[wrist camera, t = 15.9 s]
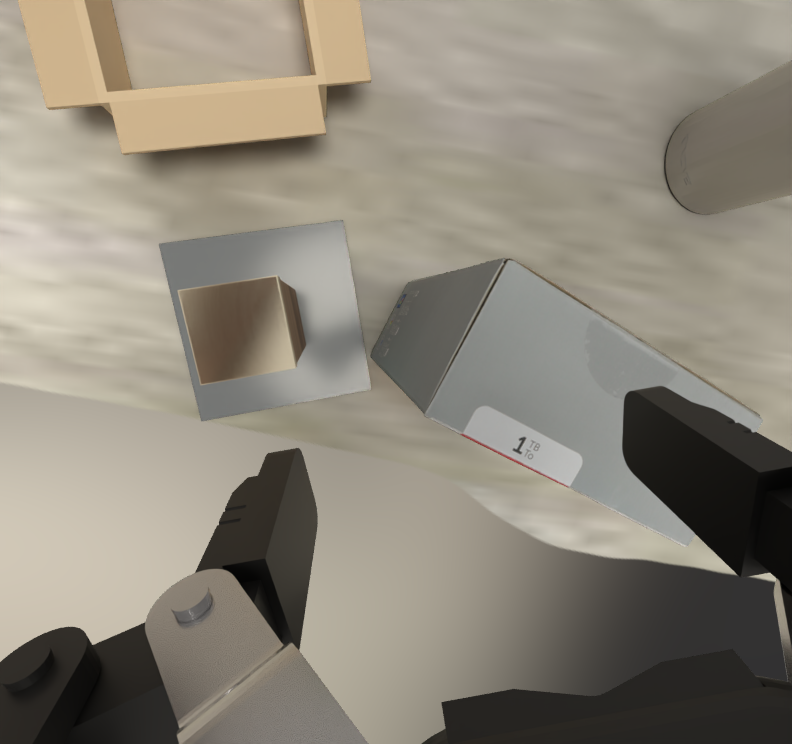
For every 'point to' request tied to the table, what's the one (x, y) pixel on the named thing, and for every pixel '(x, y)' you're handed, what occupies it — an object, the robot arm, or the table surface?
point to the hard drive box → (537, 379)
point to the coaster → (318, 304)
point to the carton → (192, 104)
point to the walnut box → (243, 328)
